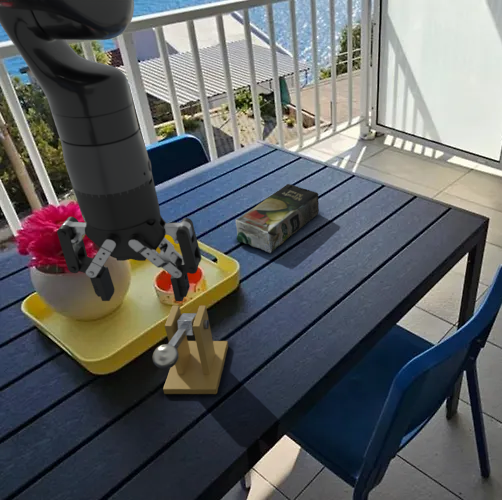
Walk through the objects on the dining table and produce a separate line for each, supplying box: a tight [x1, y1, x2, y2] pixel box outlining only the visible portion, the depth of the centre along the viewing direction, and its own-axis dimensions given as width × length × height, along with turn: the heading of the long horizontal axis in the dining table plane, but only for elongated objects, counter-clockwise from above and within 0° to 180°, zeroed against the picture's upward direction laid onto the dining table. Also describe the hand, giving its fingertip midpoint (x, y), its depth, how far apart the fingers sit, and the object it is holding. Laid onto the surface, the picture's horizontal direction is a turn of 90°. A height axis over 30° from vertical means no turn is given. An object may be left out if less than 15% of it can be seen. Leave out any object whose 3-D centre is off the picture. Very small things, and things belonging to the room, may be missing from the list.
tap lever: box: [152, 312, 197, 370], centre depth 70 cm, size 13×3×3 cm, turn 1°
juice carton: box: [235, 183, 320, 254], centre depth 112 cm, size 20×10×6 cm, turn 150°
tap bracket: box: [162, 304, 229, 395], centre depth 77 cm, size 10×8×12 cm
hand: (145, 296), depth 60 cm, fingers open, 8 cm apart
